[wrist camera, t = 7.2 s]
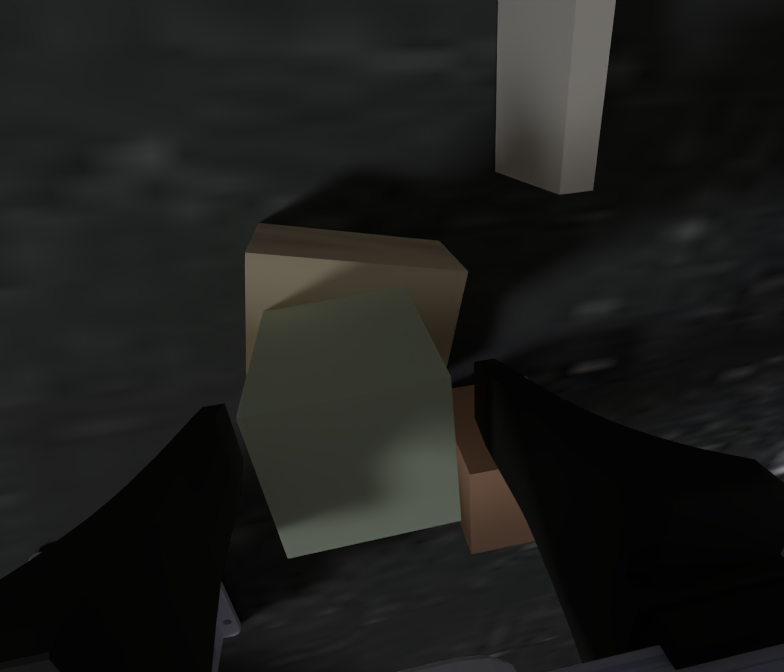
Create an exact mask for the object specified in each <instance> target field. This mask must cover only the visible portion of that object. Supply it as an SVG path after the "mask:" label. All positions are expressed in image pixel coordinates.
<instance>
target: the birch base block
mask: <svg viewBox="0 0 784 672" xmlns="http://www.w3.org/2000/svg"><path fill="white" fill-rule="evenodd" d="M467 275H468V271H467V270H466V269H465V268H464V267H463V265H462V264H461V263H460V262H459V261H458V260H457V259H456V258H455V257H454V256H453V255H452V254H451V253H450V252H449V251H448V249H447V248H446V247H445V246H444V245H443V244H442V243H441V242H440V241H435V240H425V239H415V238H405V237H395V236H385V235H375V234H365V233H355V232H345V231H335V230H325V229H315V228H305V227H295V226H285V225H275V224H265V223H258V225H257V227H256V230H255V232H254V234H253V236H252V238H251V241H250V243H249V245H248V247H247V249H246V252H245V295H246V376H247V373H248V369H249V365H250V361H251V357H252V353H253V349H254V345H255V341H256V337H257V333H258V329H259V325H260V321H261V318H262V314H263V311H268V310H273V309H279V308H285V307H290V306H296V305H301V304H307V303H313V302H318V301H324V300H330V299H335V298H341V297H347V296H352V295H358V294H364V293H369V292H375V291H381V290H386V289H392V288H398V287H403V286H405V287H406V289H407V291H408V293H409V295H410V297H411V299H412V301H413V303H414V305H415V307H416V309H417V311H418V313H419V315H420V317H421V319H422V321H423V323H424V325H425V327H426V329H427V331H428V332H429V334H430V336H431V338H432V340H433V342H434V344H435V346H436V348H437V350H438V352H439V354H440V356H441V358H442V360H443V362H444V364H445V366H446V368H447V364H448V359H449V355H450V350H451V346H452V342H453V337H454V333H455V328H456V324H457V319H458V315H459V310H460V306H461V302H462V297H463V293H464V288H465V284H466V279H467Z"/></svg>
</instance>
